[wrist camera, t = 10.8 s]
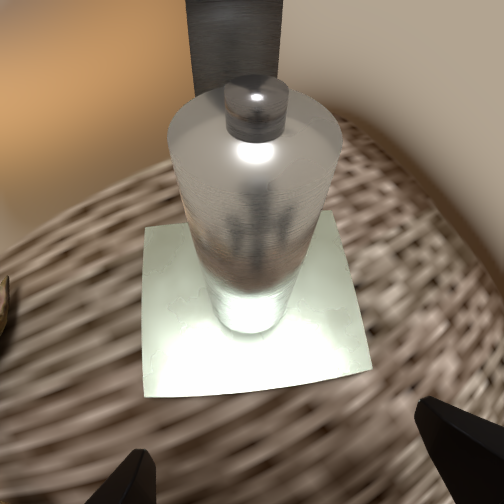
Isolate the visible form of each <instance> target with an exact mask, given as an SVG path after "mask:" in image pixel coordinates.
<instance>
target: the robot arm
mask: <svg viewBox="0 0 504 504" xmlns="http://www.w3.org/2000/svg"><path fill="white" fill-rule="evenodd" d="M414 419H415V423H416V425H417V427H418V430H419V432H420V434H421V437H422V439H423V442H424V444H425V447H426V449H427V451H428V453H429V455H430V457H431V459H432V461H433V463H434V465H435V466H436V468H437V470H438V472H439V474H440V475H441V477H442V479H443V481H444V483H445V485H446V487H447V488H448V490H449V492H450V494H451V496H452V498H453V500H454V502H455V504H504V427H503V426H500V425H498V424H495V423H493V422H490V421H488V420H485V419H483V418H480V417H478V416H476V415H473V414H471V413H468V412H466V411H464V410H461V409H459V408H457V407H455V406H452V405H450V404H448V403H445V402H443V401H441V400H439V399H436V398H434V397H432V396H426V397H424V398H422V399H420V400H419V401H418V404H417V407H416V411H415V414H414ZM84 504H156V466H155V463H154V461H153V459H152V458H151V456H150V454H149V453H148V451H147V450H146V449H134V450H133V451H132V452H131V453H130V454H129V455H128V456H127V457H126V458H125V460H124V461H123V462H122V463H121V464H120V465H119V466H118V467H117V468H116V470H115V471H114V472H113V473H112V474H111V475H110V476H109V477H108V478H107V480H106V481H105V482H104V483H103V484H102V485H101V486H100V487H99V488H98V489H97V491H96V492H95V493H94V494H93V495H92V496H91V497H90V498H89V499H88V500H87V501H86V502H85V503H84Z"/></svg>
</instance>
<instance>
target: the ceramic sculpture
mask: <svg viewBox="0 0 504 504" xmlns="http://www.w3.org/2000/svg"><path fill="white" fill-rule="evenodd" d="M8 308H9V276H8V275H7V276H6V277H5V278H4V280H3V281H2V282H1V284H0V335H1V334H2V332H3V330H4V328H5V325H6V322H7V316H8Z"/></svg>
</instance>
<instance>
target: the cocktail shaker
mask: <svg viewBox="0 0 504 504" xmlns="http://www.w3.org/2000/svg"><path fill="white" fill-rule="evenodd" d="M167 140H168V147H169V151H170V155H171V159H172V163H173V167H174V171H175V175H176V179H177V183H178V187H179V191H180V195H181V199H182V203H183V207H184V210H185V214H186V218H187V221H188V225H189V229H190V232H191V236H192V240H193V243H194V247H195V250H196V254H197V257H198V261H199V264H200V267H201V271H202V274H203V277H204V281H205V284H206V287H207V291H208V294H209V297H210V300H211V304H212V307H213V310H214V312H215V314H216V316H217V317H218V319H219V320H220V321H221V322H222V323H223V324H224V325H226V326H227V327H228V328H230V329H232V330H234V331H237V332H241V333H258V332H262V331H264V330H267V329H269V328H270V327H272V326H273V325H275V324H276V323H277V322H278V321H279V319H280V318H281V317H282V315H283V313H284V311H285V309H286V306H287V304H288V301H289V298H290V296H291V293H292V291H293V288H294V285H295V283H296V280H297V277H298V275H299V272H300V269H301V267H302V264H303V261H304V259H305V256H306V253H307V250H308V247H309V245H310V242H311V239H312V236H313V233H314V231H315V228H316V225H317V222H318V219H319V216H320V213H321V210H322V208H323V205H324V202H325V199H326V196H327V193H328V190H329V187H330V184H331V181H332V178H333V174H334V171H335V168H336V165H337V162H338V159H339V156H340V153H341V149H342V142H343V140H342V133H341V130H340V127H339V125H338V123H337V121H336V119H335V118H334V117H333V115H332V114H331V113H330V112H329V111H328V110H327V109H326V108H325V107H324V106H322V105H321V104H320V103H318V102H317V101H315V100H314V99H312V98H310V97H309V96H307V95H304V94H302V93H300V92H298V91H294V90H292V89H289V88H288V86H287V85H286V84H285V83H284V82H282V81H281V80H279V79H277V78H274V77H271V76H267V75H258V74H252V75H243V76H239V77H236V78H234V79H232V80H230V81H229V82H228V83H227V84H226V85H225V86H223V87H220V88H216V89H213V90H210V91H207V92H205V93H203V94H201V95H199V96H197V97H195V98H194V99H192V100H190V101H189V102H188V103H186V104H185V105H184V106H183V107H182V108H181V109H180V110H179V111H178V112H177V113H176V114H175V116H174V117H173V119H172V121H171V123H170V125H169V128H168V134H167Z"/></svg>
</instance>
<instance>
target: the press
mask: <svg viewBox="0 0 504 504" xmlns="http://www.w3.org/2000/svg"><path fill="white" fill-rule="evenodd" d="M185 2H186V13H187V24H188V35H189V45H190V54H191V64H192V73H193V82H194V90H195V97H197V96H199V95H201V94H203V93H205V92H207V91H210V90H213V89H216V88H220V87H223V86H225V85H226V84H227V83H228V82H229V81H230V80H232V79H234V78H236V77H239V76H243V75H252V74H258V75H267V76H271V77H274V78H277V73H278V60H279V49H280V48H279V47H280V36H281V23H282V9H283V0H185ZM142 363H143V384H144V397H147V398H176V397H198V396H214V395H226V394H237V393H247V392H255V391H264V390H271V389H278V388H285V387H292V386H298V385H304V384H310V383H315V382H320V381H326V380H331V379H335V378H340V377H345V376H349V375H354V374H358V373H362V372H366V371H369V370H372V369H373V368H372V363H371V358H370V354H369V349H368V344H367V340H366V335H365V331H364V326H363V322H362V318H361V313H360V309H359V305H358V301H357V297H356V293H355V289H354V286H353V282H352V278H351V274H350V271H349V267H348V263H347V260H346V256H345V253H344V249H343V246H342V243H341V239H340V236H339V233H338V229H337V226H336V223H335V220H334V216H333V213H332V210H326V211H321V213H320V216H319V219H318V222H317V225H316V228H315V231H314V233H313V236H312V239H311V242H310V245H309V247H308V250H307V253H306V256H305V259H304V261H303V264H302V267H301V269H300V272H299V275H298V277H297V280H296V283H295V285H294V288H293V291H292V293H291V296H290V298H289V301H288V304H287V306H286V309H285V311H284V313H283V315H282V317H281V318H280V319H279V321H278V322H277V323H276V324H275V325H273V326H272V327H270V328H269V329H267V330H264V331H262V332H258V333H241V332H237V331H234V330H232V329H230V328H228V327H227V326H226V325H224V324H223V323H222V322H221V321H220V320H219V319H218V317H217V316H216V314H215V312H214V310H213V307H212V304H211V300H210V297H209V294H208V291H207V287H206V284H205V281H204V277H203V274H202V271H201V267H200V264H199V261H198V257H197V254H196V250H195V247H194V243H193V240H192V236H191V232H190V229H189V225H188V223H179V224H170V225H161V226H153V227H145V238H144V254H143V276H142Z"/></svg>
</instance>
